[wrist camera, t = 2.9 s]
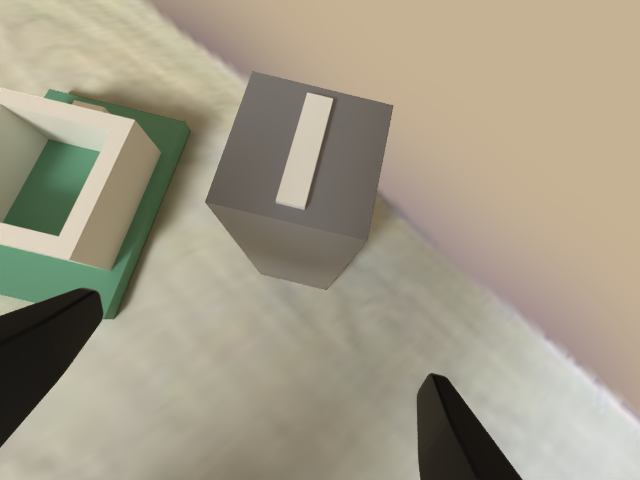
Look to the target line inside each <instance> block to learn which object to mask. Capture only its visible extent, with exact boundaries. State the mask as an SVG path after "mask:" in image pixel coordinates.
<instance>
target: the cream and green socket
mask: <svg viewBox="0 0 640 480" xmlns="http://www.w3.org/2000/svg"><path fill="white" fill-rule="evenodd" d="M189 133H190V129H189V127H188V125H187V124H186V122H183V121H179V120H175V119H171V118H167V117H163V116H158V115H154V114H150V113H146V112H142V111H138V110H134V109H129V108H125V107H121V106H117V105H113V104H109V103H105V102H101V101H96V100H92V99H88V98H84V97H80V96H76V95H72V94H67V93H63V92H59V91H55V90H51V89H49V90H48V92H47V94H46V96H45V97H44V98H42V97H38V96H34V95H30V94H26V93H22V92H18V91H13V90H9V89H5V88H1V87H0V294H1V295H5V296H9V297H14V298H18V299H22V300H26V301H30V302H35V303H38V302H41V301H44V300H46V299H49V298H52V297H55V296H58V295H60V294H63V293H66V292H69V291H72V290H75V289H77V288H89V289H93V290H96V291H98V292H99V293H100V296H101V301H102V306H103V312H104V315H103V319H114V317H115V315H116V313H117V310H118V308H119V305H120V303H121V300H122V298H123V295H124V293H125V290H126V288H127V285H128V283H129V281H130V278H131V276H132V273H133V271H134V268H135V266H136V263H137V261H138V258H139V256H140V253H141V251H142V249H143V246H144V244H145V241H146V239H147V236H148V234H149V231H150V229H151V226H152V224H153V222H154V219H155V217H156V214H157V212H158V209H159V207H160V204H161V202H162V199H163V197H164V194H165V192H166V190H167V187H168V185H169V182H170V180H171V177H172V175H173V172H174V170H175V167H176V165H177V162H178V160H179V158H180V155H181V153H182V150H183V148H184V145H185V143H186V140H187V138H188V135H189Z"/></svg>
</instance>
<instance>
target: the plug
mask: <svg viewBox="0 0 640 480" xmlns="http://www.w3.org/2000/svg"><path fill="white" fill-rule="evenodd" d="M392 109H393V105H389V104H385V103H381V102H377V101H373V100H368V99H364V98H360V97H356V96H352V95H348V94H344V93H339V92H336V91H332V90H327V89H323V88H319V87H315V86H311V85H306V84H303V83H299V82H294V81H290V80H286V79H282V78H278V77H274V76H269V75H266V74H261V73H257V72H252V75H251V77H250V80H249V83H248V85H247V88H246V91H245V94H244V96H243V99H242V102H241V105H240V107H239V110H238V113H237V116H236V118H235V121H234V124H233V127H232V129H231V132H230V135H229V138H228V140H227V143H226V146H225V149H224V151H223V154H222V157H221V160H220V162H219V165H218V168H217V171H216V173H215V176H214V179H213V182H212V184H211V187H210V190H209V193H208V196H207V198H206V201H205V203H206V204H207V205H208V206H209V208H210V209H211V210H212V212H213V213H214V214H215V215H216V217H217V218H218V219H219V221H220V222H221V223H222V224H223V226H224V227H225V228H226V230H227V231H228V232H229V234H230V235H231V236H232V237H233V239H234V240H235V241H236V243H237V244H238V245H239V246H240V248H241V249H242V250H243V252H244V253H245V254H246V255H247V257H248V258H249V259H250V261H251V262H252V263H253V264H254V266H255V267H256V268H257V270H258V271H259V272H260V273H261V274H263V275H267V276H271V277H276V278H280V279H284V280H288V281H292V282H296V283H301V284H305V285H309V286H313V287H317V288H321V289H325V290H327V288H328V287H329V286H330V285H331V284H332V282H333V281H334V280H335V279H336V278H337V276H338V275H339V274H340V273H341V272H342V271H343V269H344V268H345V267H346V266H347V265H348V263H349V262H350V261H351V260H352V259H353V257H354V256H355V255H356V254H357V253H358V251H359V250H360V249H361V248H362V247H363V245H364V244H365V243H366V242H367V239H368V234H369V229H370V223H371V218H372V213H373V208H374V203H375V198H376V193H377V187H378V182H379V177H380V172H381V166H382V162H383V156H384V151H385V146H386V140H387V136H388V131H389V126H390V120H391V115H392Z"/></svg>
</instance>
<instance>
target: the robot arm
mask: <svg viewBox="0 0 640 480" xmlns="http://www.w3.org/2000/svg"><path fill="white" fill-rule="evenodd" d="M103 315H104V312H103V306H102V301H101V296H100V293H99V292H98V291H96V290H93V289H89V288H77V289H75V290H72V291H69V292H66V293H63V294H60V295H58V296H55V297H52V298H49V299H46V300H44V301H41V302H38V303H35V304H32V305H29V306H27V307H24V308H21V309H18V310H15V311H13V312H10V313H7V314H4V315H1V316H0V447H1V446H2V445H3V444H4V443H5V442H6V440H7V439H8V438H9V437H10V436H11V435H12V434H13V432H14V431H15V430H16V429H17V428H18V427H19V425H20V424H21V423H22V422H23V421H24V420H25V418H26V417H27V416H28V415H29V414H30V413H31V411H32V410H33V409H34V408H35V407H36V406H37V405H38V403H39V402H40V401H41V400H42V399H43V398H44V396H45V395H46V394H47V393H48V392H49V391H50V389H51V388H52V387H53V386H54V385H55V384H56V382H57V381H58V380H59V379H60V378H61V376H62V375H63V374H64V373H65V371H66V370H67V369H68V367H69V366H70V365H71V363H72V362H73V360H74V359H75V358H76V356H77V355H78V353H79V352H80V351H81V349H82V348H83V346H84V345H85V344H86V342H87V341H88V339H89V338H90V337H91V335H92V334H93V332H94V331H95V330H96V328H97V327H98V325H99V324H100V322H101V321H102V319H103ZM417 431H418V461H419V471H420V480H522V478H521V477H520V476H519V474H518V473H517V472H516V470H515V469H514V467H513V466H512V465H511V463H510V462H509V461H508V459H507V458H506V457H505V455H504V454H503V453H502V451H501V450H500V449H499V447H498V446H497V444H496V443H495V442H494V440H493V439H492V438H491V436H490V435H489V434H488V432H487V431H486V430H485V428H484V427H483V426H482V424H481V423H480V422H479V420H478V419H477V417H476V416H475V415H474V413H473V412H472V411H471V409H470V408H469V407H468V405H467V404H466V403H465V401H464V400H463V399H462V397H461V396H460V394H459V393H458V392H457V390H456V389H455V388H454V386H453V385H452V384H451V382H450V381H449V380H448V379H447V378H446V377H445V376H442V375H438V374H434V373H430V374H429V375H428V376H427V378H426V379H425V381H424V382H423V384H422V386H421V387H420V389H419V391H418V394H417Z"/></svg>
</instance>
